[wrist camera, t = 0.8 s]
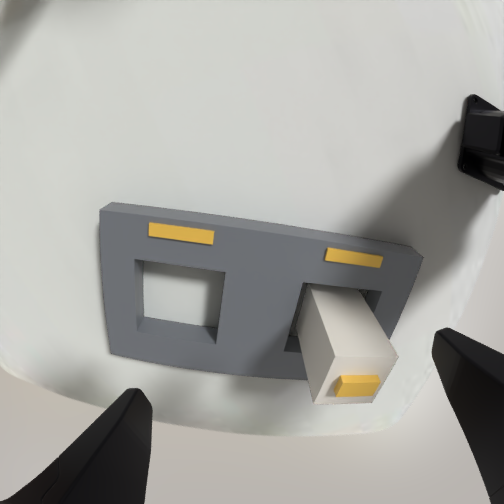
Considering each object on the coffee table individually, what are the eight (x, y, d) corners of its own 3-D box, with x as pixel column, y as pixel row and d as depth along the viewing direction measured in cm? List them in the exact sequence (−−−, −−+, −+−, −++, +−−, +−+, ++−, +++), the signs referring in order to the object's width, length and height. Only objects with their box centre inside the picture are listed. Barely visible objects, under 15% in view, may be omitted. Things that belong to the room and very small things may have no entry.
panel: (411, 246, 21) (424, 258, 19) (362, 365, 25) (368, 381, 23) (111, 202, 19) (98, 210, 17) (118, 339, 24) (110, 355, 22)
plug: (357, 288, 22) (402, 363, 14) (342, 329, 24) (374, 409, 16) (308, 282, 22) (338, 364, 14) (295, 326, 23) (315, 411, 15)
